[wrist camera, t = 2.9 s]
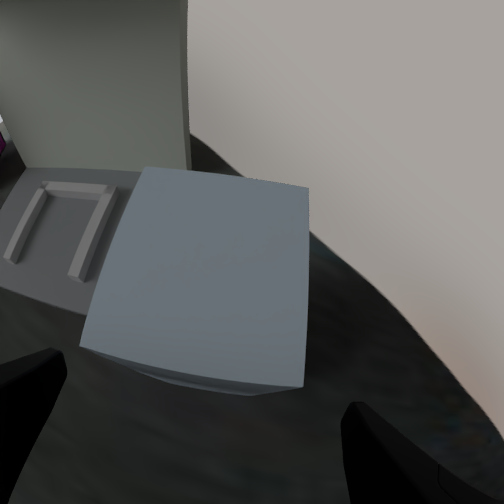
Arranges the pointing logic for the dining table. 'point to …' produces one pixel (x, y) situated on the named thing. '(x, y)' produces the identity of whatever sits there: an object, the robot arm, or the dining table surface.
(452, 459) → the dining table surface
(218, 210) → the tall gray box
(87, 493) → the dining table surface
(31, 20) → the white open shelf
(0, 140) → the candy bar box
